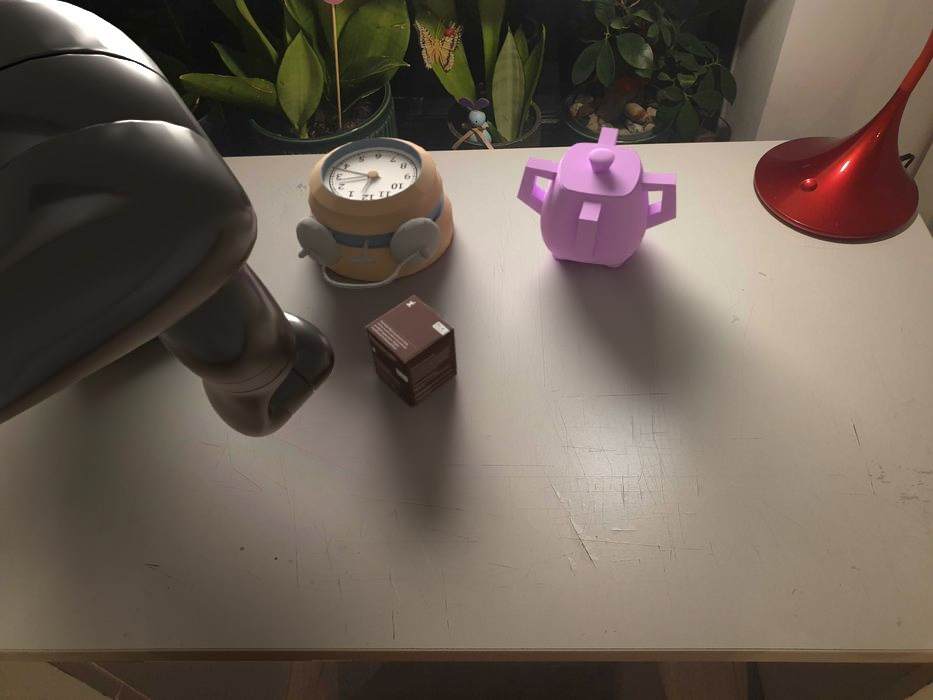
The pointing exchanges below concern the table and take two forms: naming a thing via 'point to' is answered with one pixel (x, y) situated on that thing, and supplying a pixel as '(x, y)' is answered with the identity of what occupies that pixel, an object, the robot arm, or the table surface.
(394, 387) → the box
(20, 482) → the table surface
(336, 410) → the table surface
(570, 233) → the pot
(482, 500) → the table surface
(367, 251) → the alarm clock
